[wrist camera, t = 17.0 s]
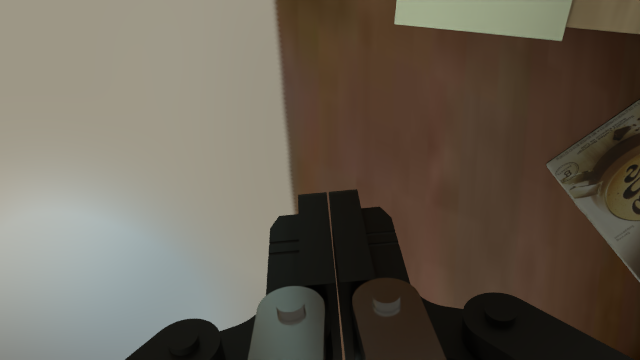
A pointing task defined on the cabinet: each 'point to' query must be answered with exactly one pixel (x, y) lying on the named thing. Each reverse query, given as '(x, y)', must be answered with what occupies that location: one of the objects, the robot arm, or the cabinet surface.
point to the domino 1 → (488, 16)
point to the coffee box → (608, 182)
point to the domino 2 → (605, 15)
